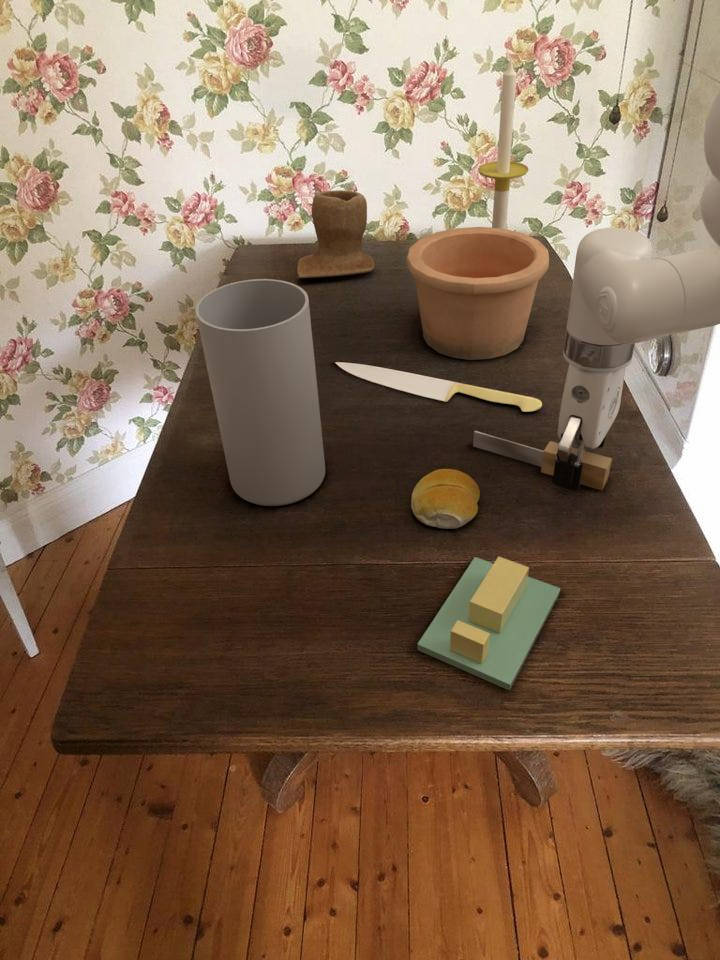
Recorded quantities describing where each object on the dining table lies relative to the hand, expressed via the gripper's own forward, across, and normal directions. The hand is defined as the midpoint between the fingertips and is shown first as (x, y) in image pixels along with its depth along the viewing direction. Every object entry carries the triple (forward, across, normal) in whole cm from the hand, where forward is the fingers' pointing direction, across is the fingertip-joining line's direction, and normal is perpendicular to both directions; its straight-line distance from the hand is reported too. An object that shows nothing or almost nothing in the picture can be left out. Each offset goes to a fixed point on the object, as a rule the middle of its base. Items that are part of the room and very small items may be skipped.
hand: (578, 464), depth 95 cm
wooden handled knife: (+2, 0, +5) cm, 6 cm away
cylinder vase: (+2, -18, +34) cm, 39 cm away
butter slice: (+1, -32, 0) cm, 32 cm away
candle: (+2, +49, +32) cm, 59 cm away
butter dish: (+2, -27, 0) cm, 27 cm away
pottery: (+2, +28, +27) cm, 39 cm away
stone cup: (+2, +40, +62) cm, 74 cm away
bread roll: (+2, -13, +12) cm, 18 cm away
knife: (+2, +10, +26) cm, 28 cm away
